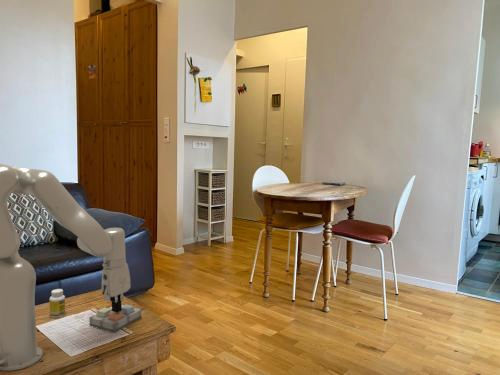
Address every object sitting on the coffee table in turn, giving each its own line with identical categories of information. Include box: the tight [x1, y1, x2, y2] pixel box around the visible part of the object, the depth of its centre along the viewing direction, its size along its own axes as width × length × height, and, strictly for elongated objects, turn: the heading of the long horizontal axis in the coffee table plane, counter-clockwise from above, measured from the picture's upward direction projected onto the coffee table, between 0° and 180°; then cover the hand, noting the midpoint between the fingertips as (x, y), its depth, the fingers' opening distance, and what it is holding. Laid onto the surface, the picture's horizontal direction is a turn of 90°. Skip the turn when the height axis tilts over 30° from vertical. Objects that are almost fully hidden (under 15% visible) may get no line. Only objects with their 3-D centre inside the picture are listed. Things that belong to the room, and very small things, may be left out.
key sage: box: [96, 307, 111, 318], centre depth 144 cm, size 3×3×3 cm
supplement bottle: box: [49, 288, 66, 318], centre depth 150 cm, size 5×5×10 cm
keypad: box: [88, 304, 142, 334], centre depth 146 cm, size 14×12×3 cm
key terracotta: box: [109, 312, 123, 322], centre depth 142 cm, size 3×3×3 cm
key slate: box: [121, 304, 135, 315], centre depth 147 cm, size 3×3×3 cm
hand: (116, 311), depth 142 cm, fingers closed
